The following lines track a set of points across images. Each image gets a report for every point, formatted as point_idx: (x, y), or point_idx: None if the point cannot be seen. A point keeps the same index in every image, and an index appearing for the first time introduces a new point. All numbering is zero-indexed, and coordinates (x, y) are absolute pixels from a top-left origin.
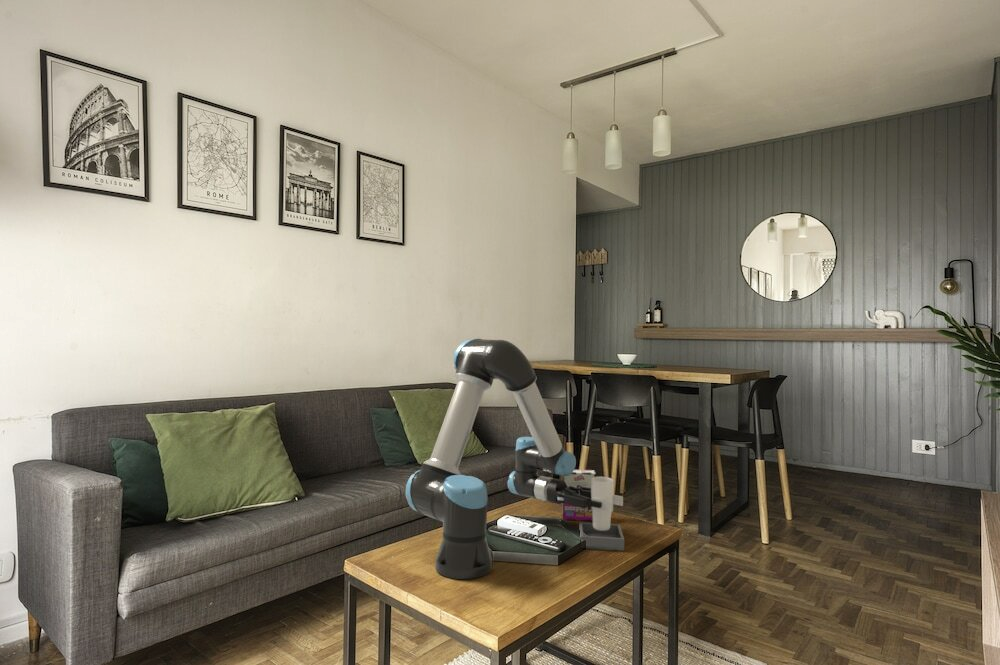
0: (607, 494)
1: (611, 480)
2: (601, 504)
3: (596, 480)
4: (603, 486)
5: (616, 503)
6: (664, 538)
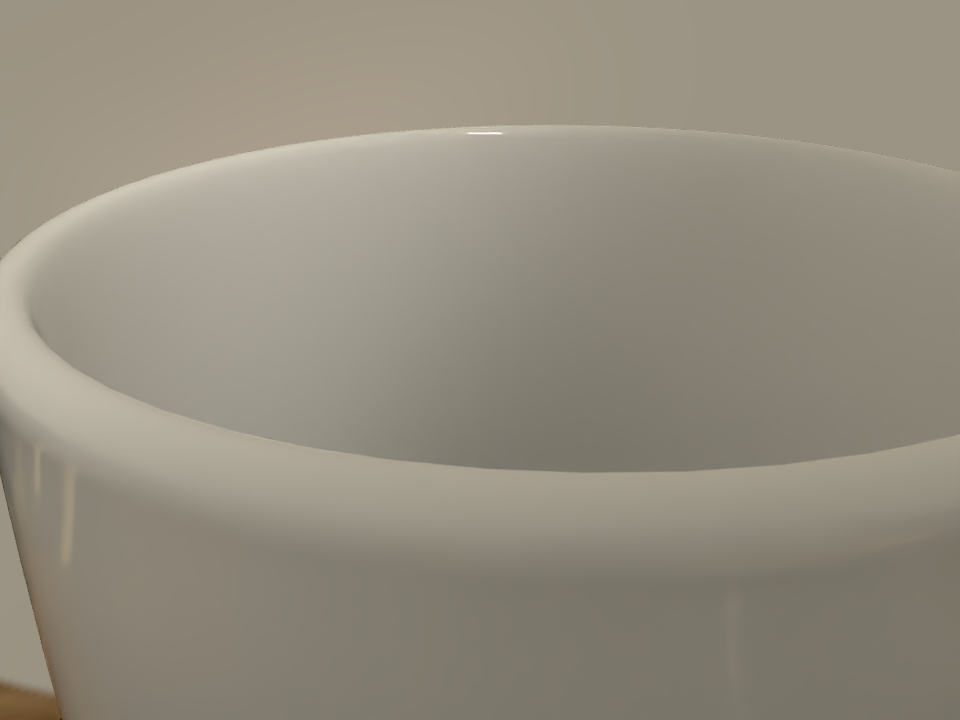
0: (700, 459)
1: (283, 201)
2: None
3: (236, 652)
4: (845, 287)
5: None
6: (14, 695)
